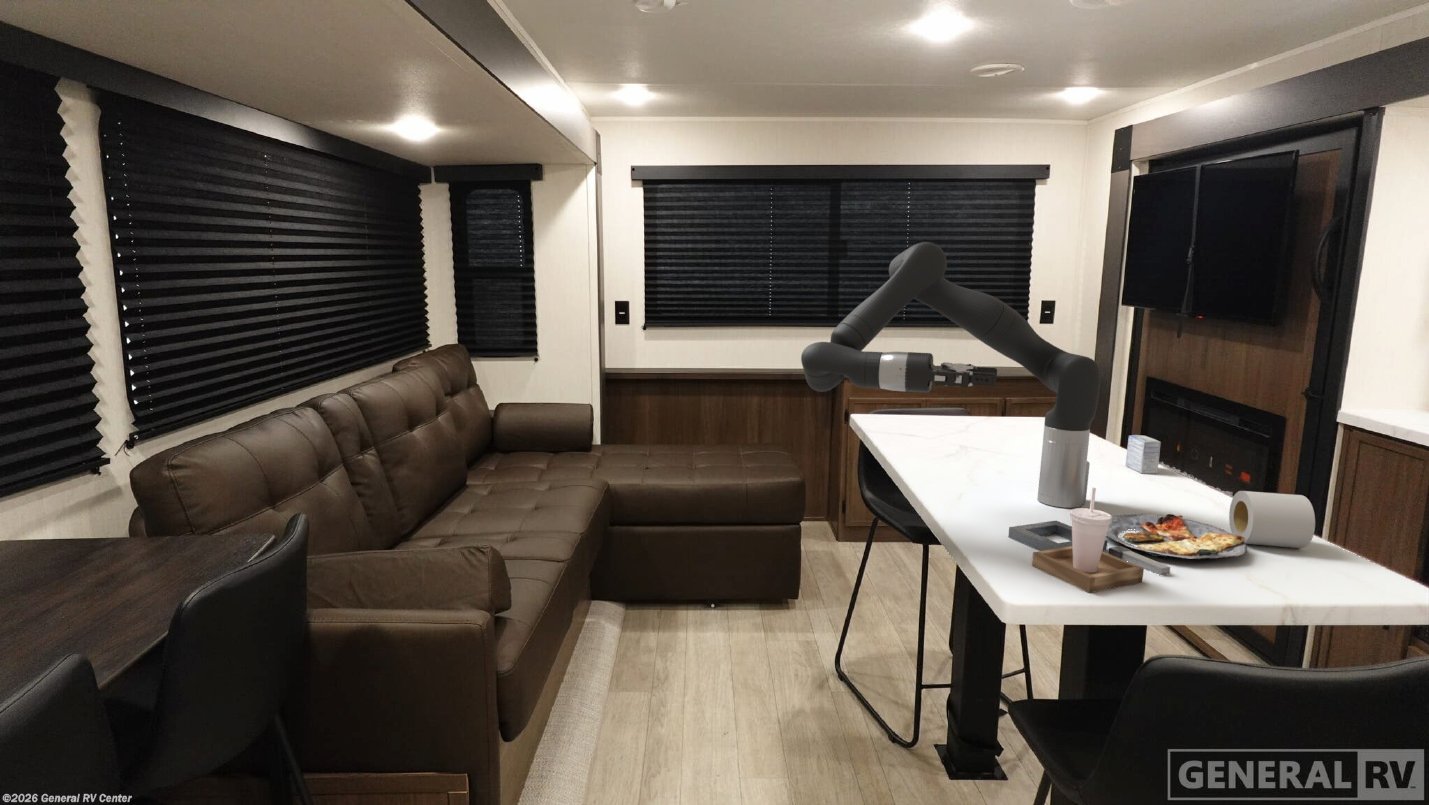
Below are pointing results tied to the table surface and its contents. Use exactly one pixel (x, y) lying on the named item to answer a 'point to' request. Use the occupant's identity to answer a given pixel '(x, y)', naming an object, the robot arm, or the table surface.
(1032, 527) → the socket
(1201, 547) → the food plate
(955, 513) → the table surface
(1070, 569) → the tray
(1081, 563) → the smoothie
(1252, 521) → the toilet paper
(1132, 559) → the bar
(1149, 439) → the medicine box
